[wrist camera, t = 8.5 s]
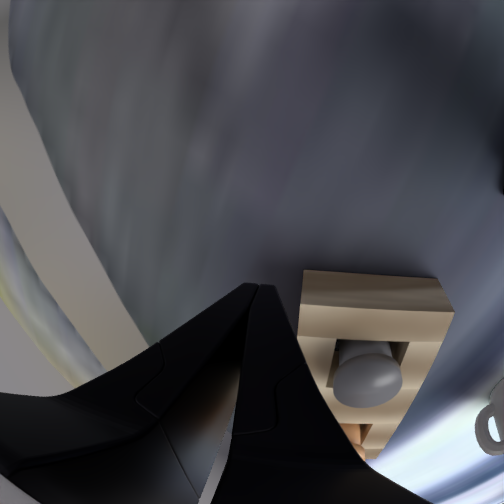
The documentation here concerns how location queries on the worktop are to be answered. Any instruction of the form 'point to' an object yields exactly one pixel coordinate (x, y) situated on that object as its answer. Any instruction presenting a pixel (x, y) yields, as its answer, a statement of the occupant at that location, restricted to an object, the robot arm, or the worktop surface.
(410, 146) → the worktop surface
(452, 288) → the worktop surface
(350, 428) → the mushroom knob terracotta
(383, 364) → the grey mushroom knob
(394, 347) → the housing
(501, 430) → the cup
